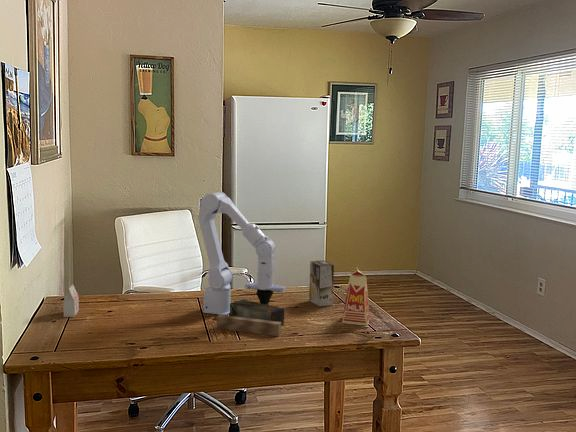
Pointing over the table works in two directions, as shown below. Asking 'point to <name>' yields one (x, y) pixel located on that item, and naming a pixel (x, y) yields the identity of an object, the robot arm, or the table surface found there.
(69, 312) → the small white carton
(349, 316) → the milk carton
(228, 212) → the robot arm
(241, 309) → the beverage carton
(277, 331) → the walnut board
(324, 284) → the coffee box
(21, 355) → the table surface
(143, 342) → the table surface
